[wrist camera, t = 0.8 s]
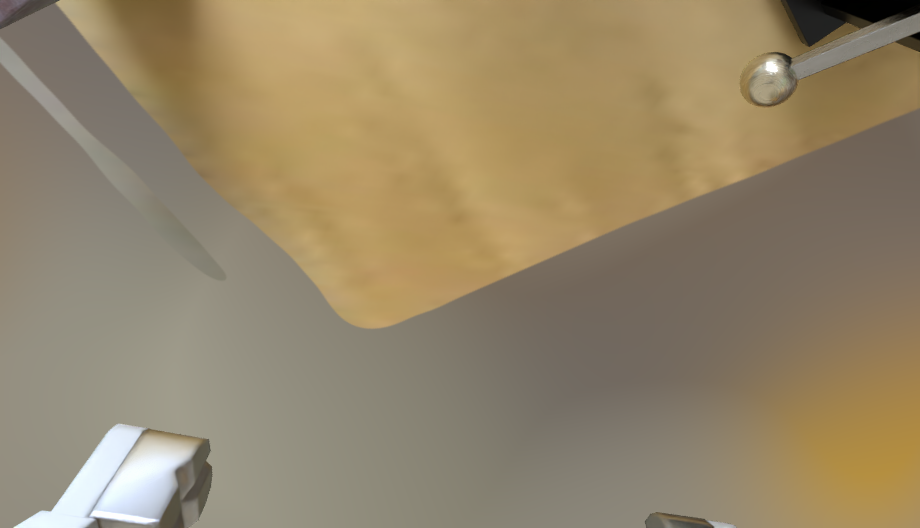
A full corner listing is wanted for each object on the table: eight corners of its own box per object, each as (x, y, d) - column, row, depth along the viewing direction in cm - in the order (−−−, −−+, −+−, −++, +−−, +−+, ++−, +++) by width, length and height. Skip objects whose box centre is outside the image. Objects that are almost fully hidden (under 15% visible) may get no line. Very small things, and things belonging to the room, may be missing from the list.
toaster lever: (755, 95, 39) (750, 125, 37) (733, 57, 37) (726, 86, 35) (1017, -9, 29) (1027, 24, 27) (1000, -67, 27) (1010, -35, 26)
